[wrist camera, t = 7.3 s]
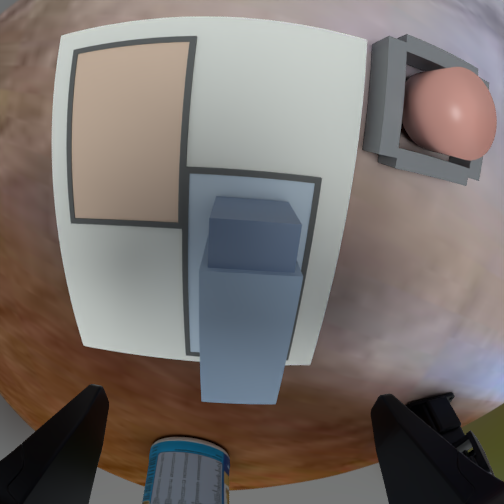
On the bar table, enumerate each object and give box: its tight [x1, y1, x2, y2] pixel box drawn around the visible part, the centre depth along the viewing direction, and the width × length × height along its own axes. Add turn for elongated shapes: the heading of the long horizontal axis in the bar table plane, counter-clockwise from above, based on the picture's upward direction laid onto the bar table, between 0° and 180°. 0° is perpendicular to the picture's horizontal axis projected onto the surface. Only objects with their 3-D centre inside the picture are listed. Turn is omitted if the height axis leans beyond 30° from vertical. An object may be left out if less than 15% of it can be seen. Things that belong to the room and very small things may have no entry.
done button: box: [402, 67, 497, 160], centre depth 11 cm, size 4×4×3 cm
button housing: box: [362, 34, 489, 186], centre depth 12 cm, size 7×7×2 cm
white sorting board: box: [52, 16, 367, 365], centre depth 15 cm, size 20×16×1 cm
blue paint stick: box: [199, 196, 303, 404], centre depth 14 cm, size 10×4×4 cm, turn 175°
